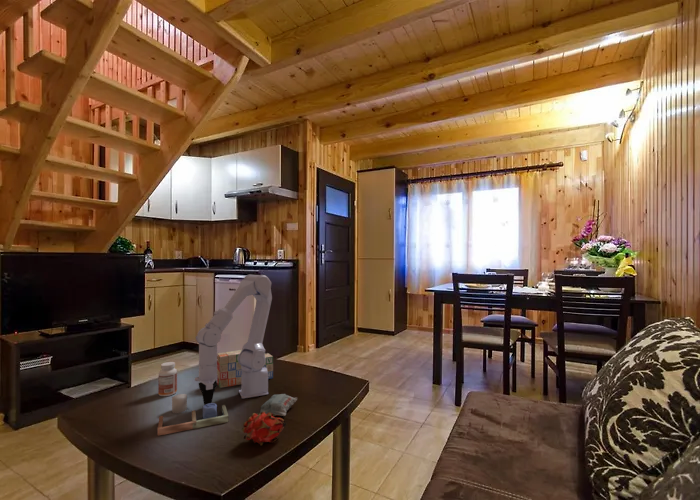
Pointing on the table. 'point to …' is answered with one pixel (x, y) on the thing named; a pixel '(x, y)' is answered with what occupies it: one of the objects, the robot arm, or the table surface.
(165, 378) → the pill bottle
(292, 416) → the table surface
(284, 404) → the packaged food
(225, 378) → the stack of blocks
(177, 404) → the beige rounded cylinder
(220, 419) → the e-shaped wooden rack
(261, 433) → the dragon fruit
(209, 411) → the decorative dice
